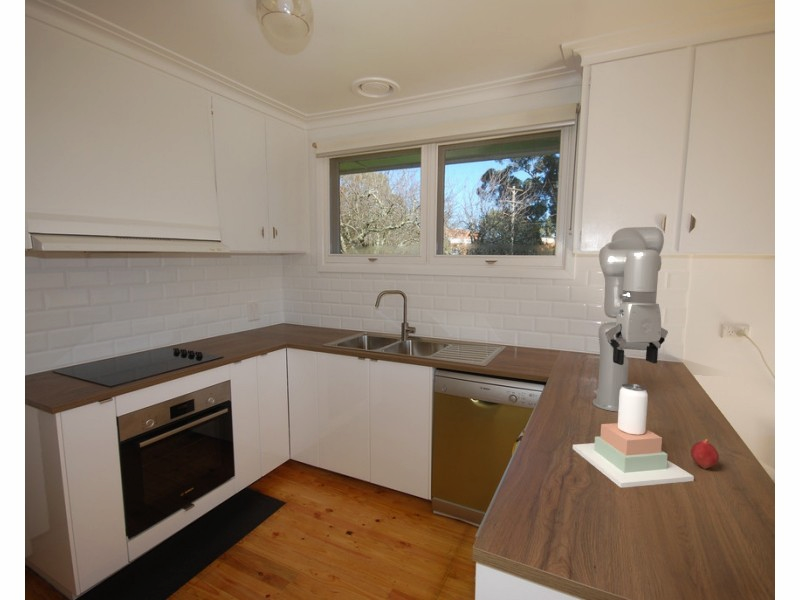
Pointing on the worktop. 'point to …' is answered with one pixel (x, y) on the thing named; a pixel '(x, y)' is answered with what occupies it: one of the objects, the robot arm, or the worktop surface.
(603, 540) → the worktop surface
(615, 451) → the tiered block pedestal
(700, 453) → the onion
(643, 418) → the can
